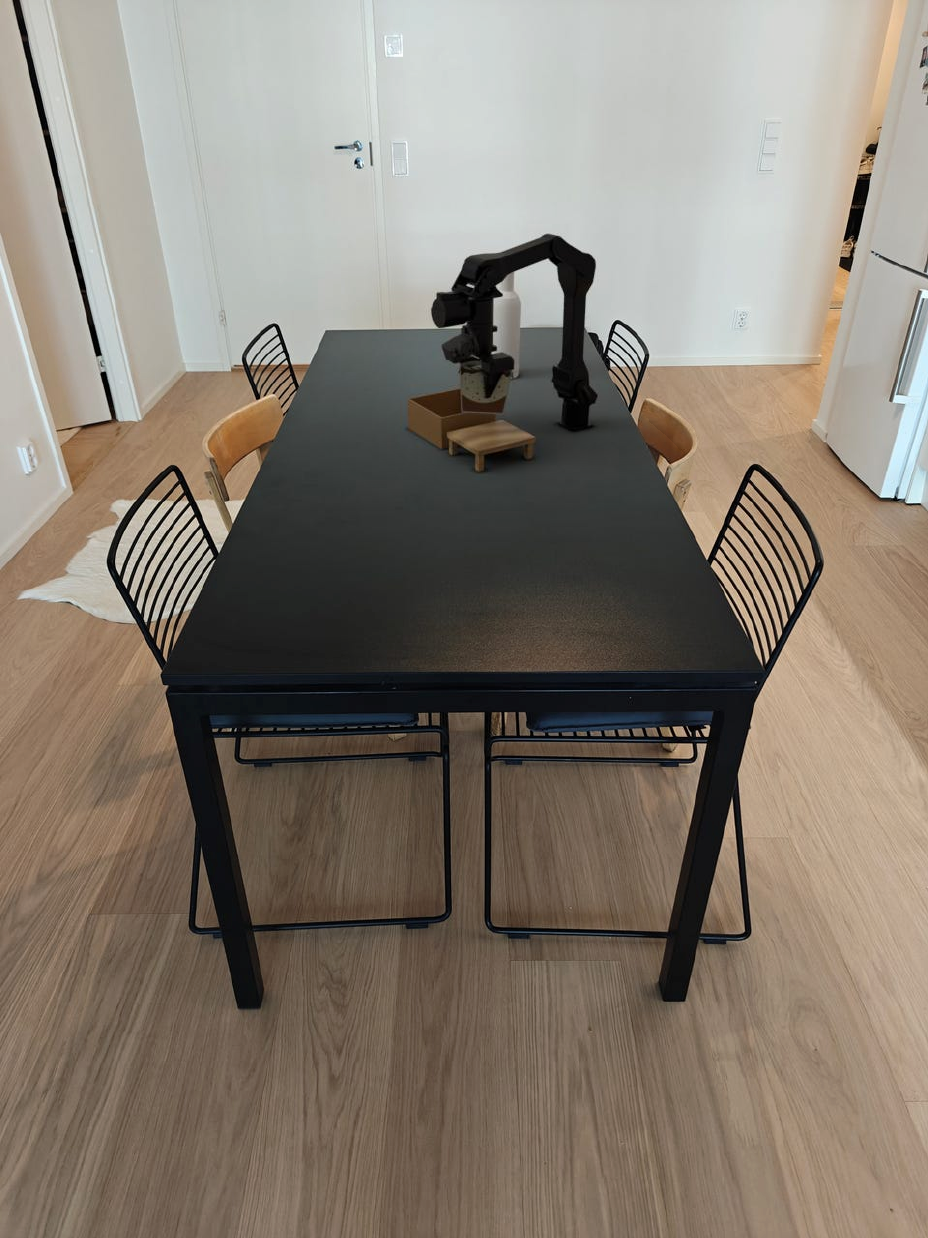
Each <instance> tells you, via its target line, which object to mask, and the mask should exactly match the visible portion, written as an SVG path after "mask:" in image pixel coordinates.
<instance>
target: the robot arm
mask: <svg viewBox="0 0 928 1238" xmlns="http://www.w3.org/2000/svg"><path fill="white" fill-rule="evenodd" d="M546 260H548V261H549V262H551V264H552V265H554V266H555V267H556V273H557V280H558V283H559V286H560V288H561V290H562V293H563V311H562V313H563V314H562V337H561V339H562V340H561V341H562V342H561V359H560V360H559V361H558V364H557V365H552V367H551V373H552V378H551V381H550V382H551V383H552V384H553V389H555V391H556V393H557V397H558V398H561V399H562V406H561V407H562V408H561V420H557V421H556V424H557V425H559V426H560V427H563V428H565V429H567V430H569V431H571V432H575V431H580V430H584V429H587V428H588V429H589V428H592V427H593V426H594V424H593V423H592V422H590V421H589V419H590V407H591V406H592V405H595V404H596V402H597V399H598V396H599V395H598V393H597V392H596V391H595V389H593V387H592V386H590V373H589V369H588V367H587V365H586V362H585V360H584V349H585V348H584V346H585V326H586V308H587V305H586V304H587V294H588V292H589V291H590V289H591V287H592V285H593V283H594V280H595V276H596V275H595V274H596V269H597V261H596V258H595V257H594V256H593V255H592V254H590V253H588V252H584V251H582V250H580V249H579V248H577V247H575V246H574V245H572V244H570V243H569V242H568V241H566V240H565V239H564V238H563V237H562V236H561V235H556V234H552V233H545V234H543V235H541V236H540V237H538V238H535V239H532V240H530V241H526V242H524V243H521V244H519V245H516V246H514V247H511V248H508V249H506V250H503V251H500V252H491V253H490V252H489V253H485V252H484V253H478V254H471V255H469V256H467V257H466V258H465V259H464V260H463V263H462V266H461V270H460V271H459V273H458V275H457V277H456V279H455V281H454V283H453V284H452V286H451V288H450V289H451V291H437V292H436V294H435V295H436V298H435V299H434V300H433V302H432V304H431V308H430V313H431V314H430V315H431V319H432V322H433V323H434V325H435V327H436V328H438V329H445V328H451V327H455V326H456V327H457V326H462V327H460V328H461V329H460V334H458V335H456V336H453V337H452V338H450V339H449V340H447V341H445V342H443V343H442V344H441V346H440V347H441V350H442V352H443V355H444V359H445V360H446V361H449V362H451V363H452V364H455V365H456V364H459V365H461V364H462V363H465V362H470V361H481V367H482V369H478V371H479V372H480V373H481V374H482V375H483V380H484V391H485V398H486V399H488V398H491V396H492V394H493V392H494V390H495V388H496V386H497V383H498V382H499V380H500V378H501V376H502V375H503V373H504V371H509V370H514V361H515V360H514V359H513V358H512V357H511V356H510V355H507V354H505V353H503V352H501V353H496V354H492V352H495V351H497V346H495V345H493V332H497V326H495V325H493V313H494V298H499V297H502V296H503V294H502V293H501V292H500V289H498V288H497V286H498V285H500V283H501V282H502V281H503V280H504V279H505V278H506V276H507V275H509V274H510V273H512V272H514V273H515V272H517V271H520V270H522V269H525V268H528V267H530V266H533V265H535V264H537V263H540V262H543V261H546Z"/></svg>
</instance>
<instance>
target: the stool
mask: <svg viewBox="0 0 928 1238" xmlns="http://www.w3.org/2000/svg"><path fill="white" fill-rule="evenodd" d="M447 438H449V448H448V454H449V455H451V456H456V455H458V446H460V447H462V448H464V449H465V450H467V451H469V452H471V453H472V454H474V455H475V456H474V457H475V459H474V462H475V463H474V465H475V466H474V470H475V471H476V472H478V473H481V472H484V471H485V456H486V455H489V454H493V453H497V452H500V451H501V452H502V451H505V450H509V449H513V448H517V447H521V446H524V448H523V451H524V452H523V458H524V459H526V460H530V459H533V458H534V457H533V455H534V444H535V443H536V436H534V435H532V434H530V433H528V432H527V431H525V430H523V429H521V428H519V427H517V426H516V425H513V424H511V423H509V422H507V421H506V420H503V419H499V420H496V421H495V422H490V423H486V424H482V425H477V426H473V427H468V428H464V429H460V430H455V431H451V432H447ZM457 444H459V445H458V446H457Z"/></svg>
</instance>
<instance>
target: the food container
mask: <svg viewBox="0 0 928 1238" xmlns="http://www.w3.org/2000/svg"><path fill="white" fill-rule="evenodd" d="M478 369H482V367H481V361H470V362H465V363H462V364H459V367H458V370H457V374H456V375H457V376H458V375H459V386H460V385H461V386H460V388H461V411H462V412H465V413H486V414H496V415H504V413H505V409H506V404H507V400H508V394H509V390H510V384H511V380H512V379H511V377H512V378H513V379H515V378H514V375H513V371H512V370H509V371H504V373H503V375H502V376H501V378H500V380H499V382H498V383H497V386H496V388H495V390H494V392H493V394H492V396H491V398H488V399H486V398H485V391H484V380H483V375H482V374H481V373H480V372H479V371H478Z"/></svg>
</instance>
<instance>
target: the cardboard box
mask: <svg viewBox="0 0 928 1238" xmlns="http://www.w3.org/2000/svg"><path fill="white" fill-rule="evenodd" d="M406 401H407V403H406V404H407V427H408V429H409V430H410V431H411V432H414V433H415V434H416V435H418V436H420V437H421V438H423V439H424V440H426V441H428V442H429V443H431V444H432V445H434V446H435V447H437V448H439V449H440V450H445V449H449V438H447V432H451V431H455V430H460V429H464V428H468V427H473V426H477V425H482V424H486V423H490V422H495V421H497V420H496V418H497V417H496V416H497V414H486V413H465V412H462V411H461V387H457V388H454V389H448V390H444V391H439V392H433V393H429V394H423V395H418V396H414V397H409V398H407V400H406ZM459 446H460V445H459V444H457V447H459Z"/></svg>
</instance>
